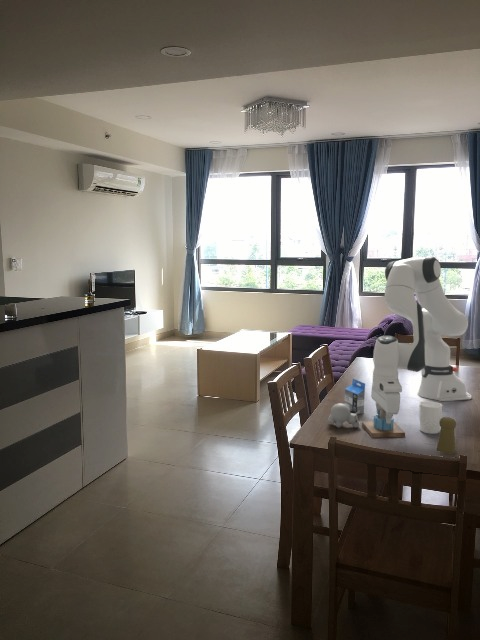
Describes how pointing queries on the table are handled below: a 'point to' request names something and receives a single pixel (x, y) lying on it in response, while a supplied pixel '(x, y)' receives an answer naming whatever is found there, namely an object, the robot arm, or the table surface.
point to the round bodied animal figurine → (343, 416)
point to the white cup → (430, 416)
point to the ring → (382, 423)
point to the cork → (447, 436)
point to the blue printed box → (355, 397)
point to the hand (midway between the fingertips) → (383, 418)
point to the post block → (383, 433)
